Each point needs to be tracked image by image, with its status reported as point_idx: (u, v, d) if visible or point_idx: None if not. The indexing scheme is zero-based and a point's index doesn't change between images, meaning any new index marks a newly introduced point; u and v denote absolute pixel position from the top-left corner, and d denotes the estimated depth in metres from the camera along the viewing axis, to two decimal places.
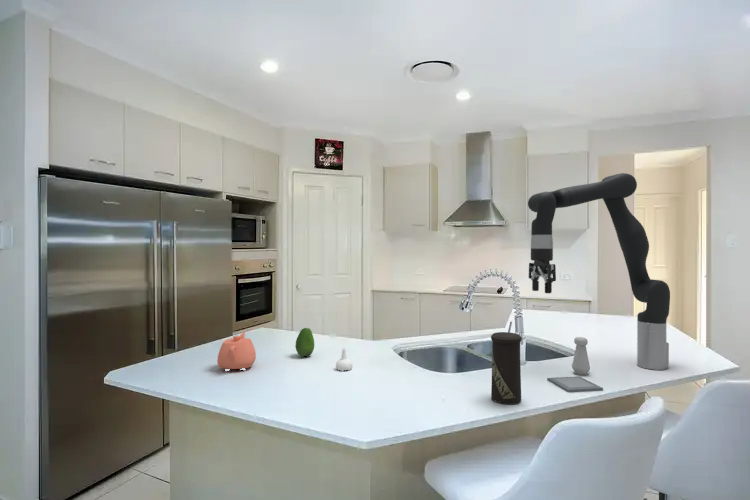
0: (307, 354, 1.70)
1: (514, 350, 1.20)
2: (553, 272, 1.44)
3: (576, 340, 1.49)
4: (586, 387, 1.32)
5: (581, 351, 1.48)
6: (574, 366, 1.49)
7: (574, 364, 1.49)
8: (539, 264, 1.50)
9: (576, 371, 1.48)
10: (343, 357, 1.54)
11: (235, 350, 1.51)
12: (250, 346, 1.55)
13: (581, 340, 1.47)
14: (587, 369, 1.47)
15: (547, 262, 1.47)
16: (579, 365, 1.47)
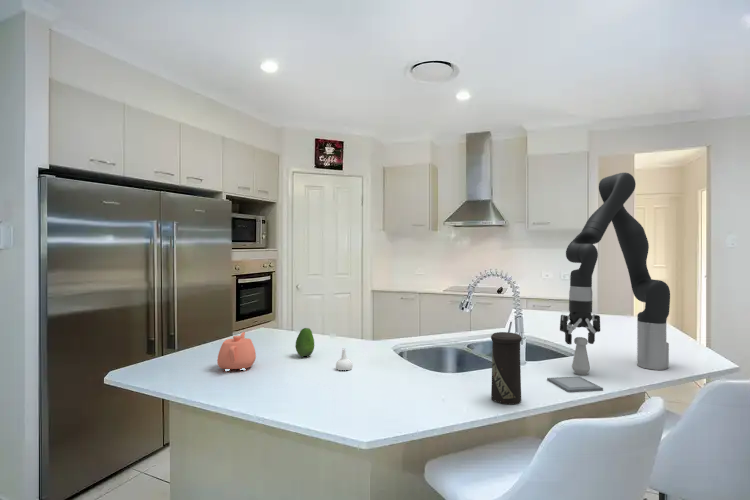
0: (307, 354, 1.70)
1: (514, 350, 1.20)
2: None
3: (576, 340, 1.49)
4: (586, 387, 1.32)
5: (581, 351, 1.48)
6: (574, 366, 1.49)
7: (574, 364, 1.49)
8: (583, 316, 1.48)
9: (576, 371, 1.48)
10: (343, 357, 1.54)
11: (235, 350, 1.51)
12: (250, 346, 1.55)
13: (581, 340, 1.47)
14: (587, 369, 1.47)
15: None
16: (579, 365, 1.47)
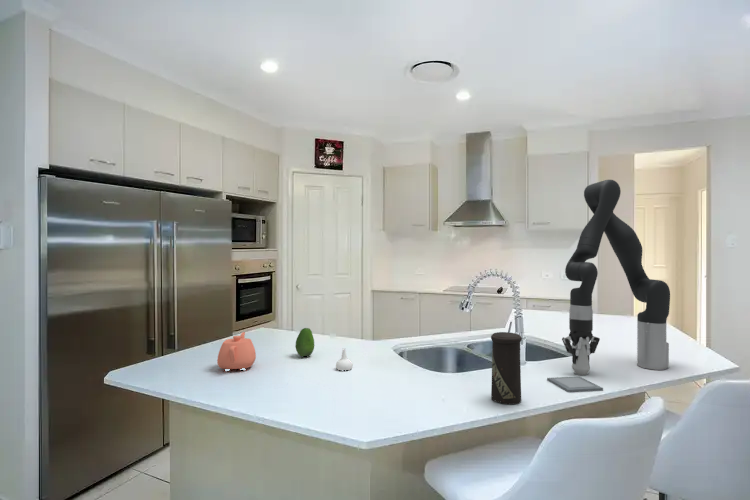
0: (307, 354, 1.70)
1: (514, 350, 1.20)
2: None
3: None
4: (586, 387, 1.32)
5: (581, 351, 1.48)
6: (574, 366, 1.49)
7: (574, 364, 1.49)
8: (583, 335, 1.48)
9: (576, 371, 1.48)
10: (343, 357, 1.54)
11: (235, 350, 1.51)
12: (250, 346, 1.55)
13: None
14: (587, 369, 1.47)
15: None
16: (579, 365, 1.47)
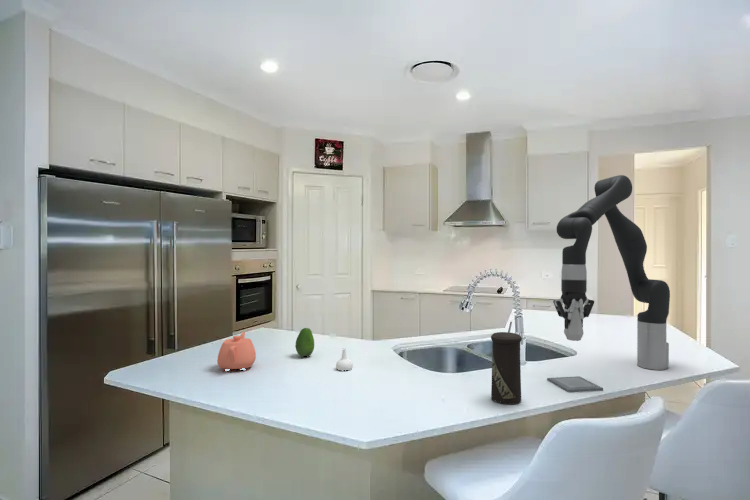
0: (307, 354, 1.70)
1: (514, 350, 1.20)
2: None
3: None
4: (586, 387, 1.32)
5: (574, 315, 1.35)
6: (566, 331, 1.36)
7: (566, 329, 1.37)
8: (577, 297, 1.36)
9: (568, 336, 1.36)
10: (343, 357, 1.55)
11: (235, 350, 1.51)
12: (250, 346, 1.55)
13: None
14: (580, 334, 1.35)
15: None
16: (571, 329, 1.35)
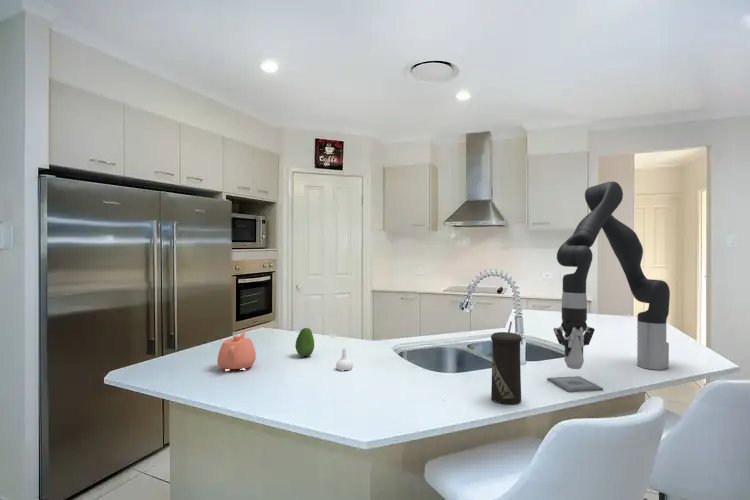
0: (307, 354, 1.70)
1: (514, 350, 1.20)
2: None
3: None
4: (586, 387, 1.32)
5: (574, 343, 1.35)
6: (567, 359, 1.36)
7: (567, 357, 1.36)
8: (577, 325, 1.36)
9: (569, 364, 1.36)
10: (343, 357, 1.55)
11: (235, 350, 1.51)
12: (250, 346, 1.55)
13: None
14: (581, 362, 1.34)
15: None
16: (572, 357, 1.35)
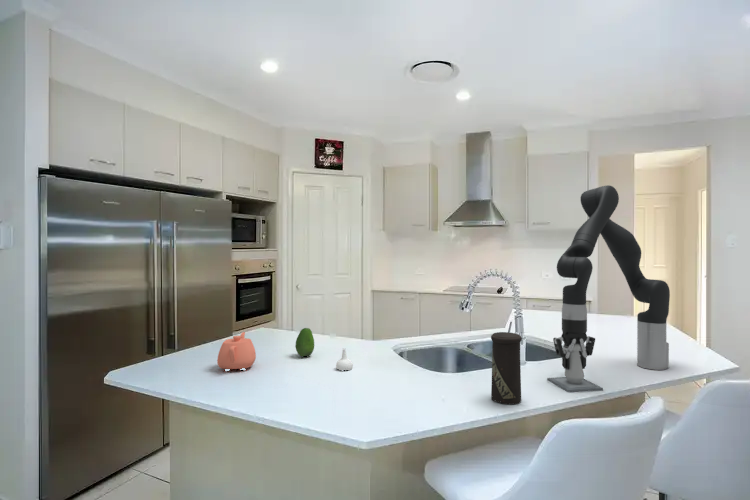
0: (307, 354, 1.70)
1: (514, 350, 1.20)
2: None
3: None
4: (586, 387, 1.32)
5: (574, 358, 1.35)
6: (567, 374, 1.36)
7: (567, 372, 1.36)
8: (577, 336, 1.36)
9: (569, 380, 1.36)
10: (343, 357, 1.55)
11: (235, 350, 1.51)
12: (250, 346, 1.55)
13: (574, 346, 1.35)
14: (581, 377, 1.34)
15: None
16: (572, 373, 1.35)
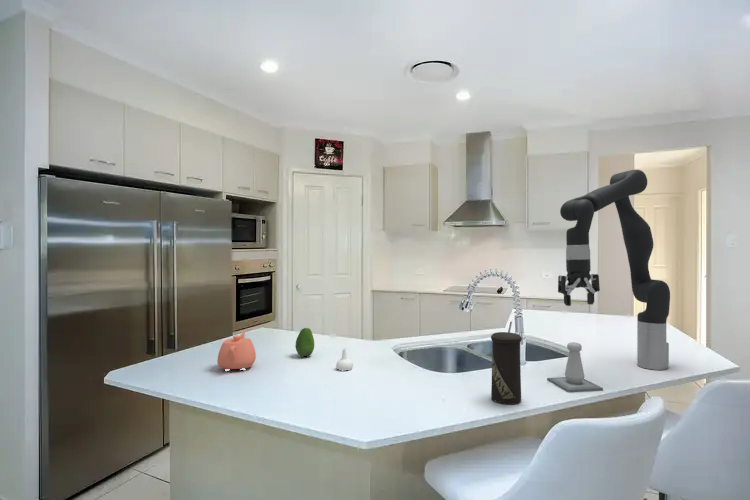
0: (307, 354, 1.70)
1: (514, 350, 1.20)
2: None
3: (569, 346, 1.36)
4: (586, 387, 1.32)
5: (575, 358, 1.35)
6: (567, 374, 1.36)
7: (567, 372, 1.36)
8: (581, 276, 1.42)
9: (569, 379, 1.36)
10: (343, 357, 1.55)
11: (235, 350, 1.51)
12: (250, 346, 1.55)
13: (575, 346, 1.35)
14: (581, 377, 1.35)
15: None
16: (572, 373, 1.35)
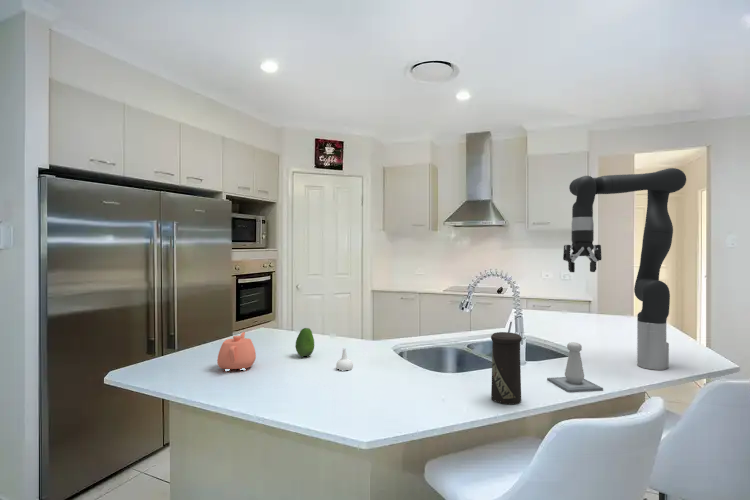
0: (307, 354, 1.70)
1: (514, 350, 1.20)
2: None
3: (569, 346, 1.36)
4: (586, 387, 1.32)
5: (575, 358, 1.35)
6: (567, 374, 1.36)
7: (567, 372, 1.36)
8: (585, 245, 1.57)
9: (569, 379, 1.36)
10: (343, 357, 1.55)
11: (235, 350, 1.51)
12: (250, 346, 1.55)
13: (575, 346, 1.35)
14: (581, 377, 1.35)
15: None
16: (572, 373, 1.35)
